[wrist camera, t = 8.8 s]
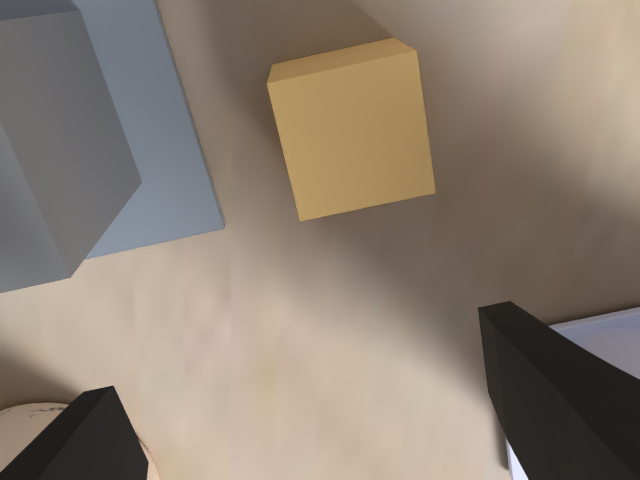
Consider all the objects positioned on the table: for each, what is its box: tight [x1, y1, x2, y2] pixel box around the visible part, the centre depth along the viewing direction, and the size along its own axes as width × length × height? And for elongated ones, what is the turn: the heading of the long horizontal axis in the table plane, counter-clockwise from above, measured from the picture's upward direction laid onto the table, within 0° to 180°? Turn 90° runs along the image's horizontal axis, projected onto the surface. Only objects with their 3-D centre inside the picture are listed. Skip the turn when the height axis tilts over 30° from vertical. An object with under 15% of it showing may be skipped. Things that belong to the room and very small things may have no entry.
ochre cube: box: [267, 37, 436, 221], centre depth 18 cm, size 4×4×4 cm
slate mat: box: [0, 0, 225, 260], centre depth 19 cm, size 10×10×1 cm
